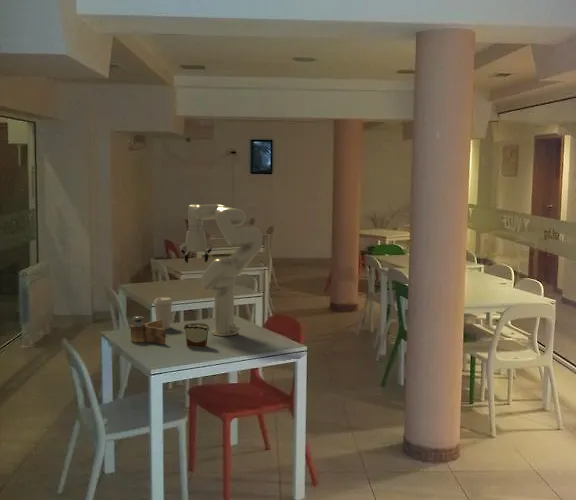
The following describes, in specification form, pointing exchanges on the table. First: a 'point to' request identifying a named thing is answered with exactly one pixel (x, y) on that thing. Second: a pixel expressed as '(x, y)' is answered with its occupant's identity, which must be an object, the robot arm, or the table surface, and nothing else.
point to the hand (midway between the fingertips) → (196, 262)
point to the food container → (196, 334)
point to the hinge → (148, 332)
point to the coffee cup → (163, 311)
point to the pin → (138, 321)
